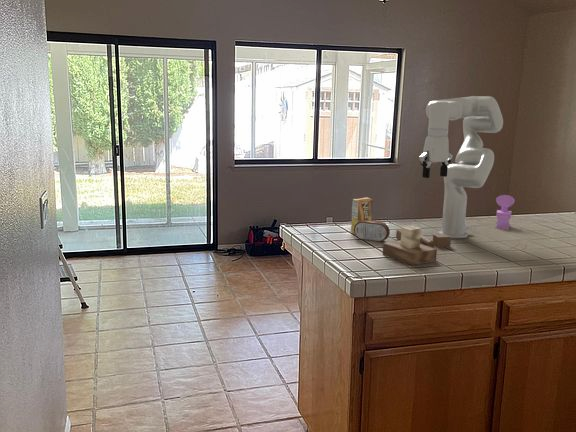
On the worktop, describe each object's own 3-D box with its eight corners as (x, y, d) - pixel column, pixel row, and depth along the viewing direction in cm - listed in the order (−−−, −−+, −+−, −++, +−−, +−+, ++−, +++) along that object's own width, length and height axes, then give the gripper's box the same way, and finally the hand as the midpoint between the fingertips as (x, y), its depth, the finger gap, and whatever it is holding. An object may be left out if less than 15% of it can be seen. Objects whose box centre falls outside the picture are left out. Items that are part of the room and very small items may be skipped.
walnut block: (406, 251, 213) (406, 239, 212) (435, 262, 200) (436, 249, 199) (382, 255, 207) (383, 242, 206) (411, 266, 194) (412, 253, 193)
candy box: (364, 230, 246) (365, 197, 243) (371, 232, 243) (372, 198, 240) (350, 233, 240) (351, 199, 237) (357, 234, 237) (359, 200, 234)
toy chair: (492, 227, 255) (495, 196, 252) (493, 224, 263) (496, 193, 260) (511, 229, 252) (515, 198, 249) (512, 225, 260) (515, 195, 257)
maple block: (410, 243, 206) (411, 225, 204) (419, 246, 202) (420, 228, 200) (400, 245, 204) (401, 227, 202) (409, 248, 199) (410, 230, 198)
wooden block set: (412, 236, 214) (395, 226, 232) (411, 250, 215) (395, 239, 233) (452, 235, 217) (432, 225, 235) (451, 248, 218) (432, 238, 236)
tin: (389, 241, 227) (390, 222, 225) (387, 243, 224) (388, 223, 222) (354, 237, 233) (355, 218, 231) (352, 239, 230) (353, 219, 228)
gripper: (446, 132, 219) (443, 174, 223) (414, 133, 211) (411, 177, 214) (460, 133, 213) (457, 176, 217) (428, 134, 204) (425, 179, 208)
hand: (434, 176), depth 215 cm, fingers open, 9 cm apart
